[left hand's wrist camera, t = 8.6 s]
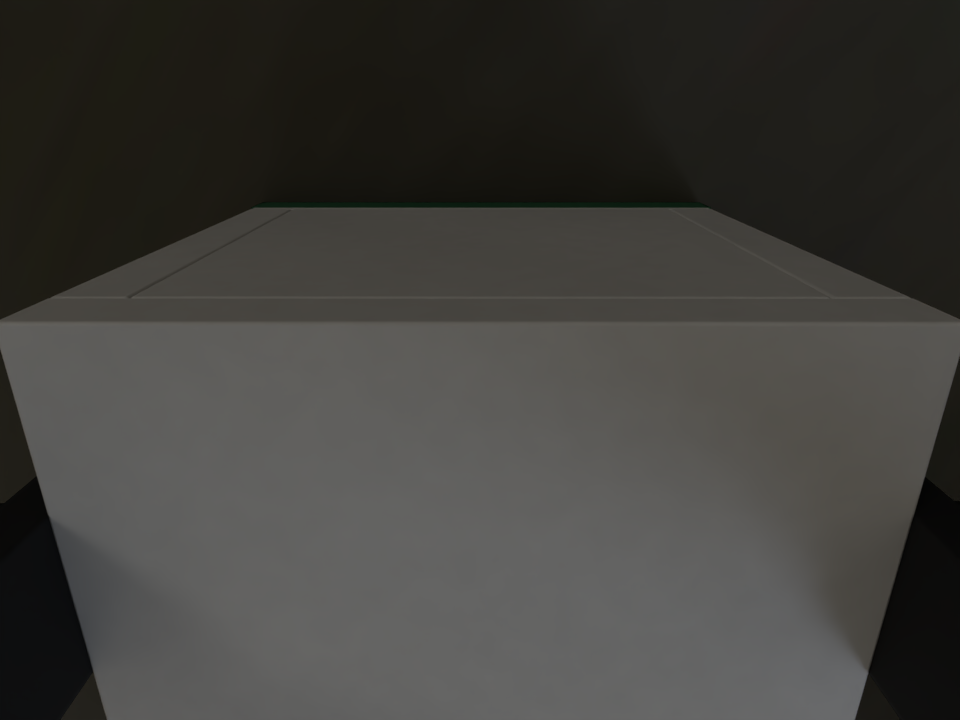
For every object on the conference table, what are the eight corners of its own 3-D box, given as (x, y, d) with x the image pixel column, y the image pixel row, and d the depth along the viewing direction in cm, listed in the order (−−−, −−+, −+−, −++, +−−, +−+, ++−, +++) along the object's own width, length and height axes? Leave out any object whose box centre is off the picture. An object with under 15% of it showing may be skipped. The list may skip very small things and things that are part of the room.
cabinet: (636, 729, 24) (736, 1134, 14) (325, 728, 24) (224, 1132, 14) (699, 202, 17) (973, 321, 7) (262, 202, 17) (-12, 320, 7)
